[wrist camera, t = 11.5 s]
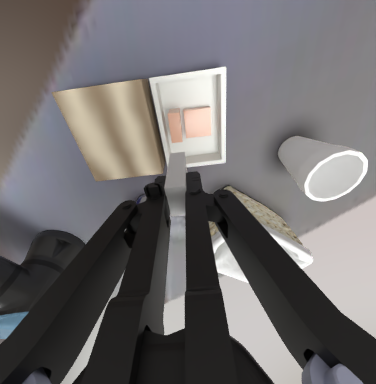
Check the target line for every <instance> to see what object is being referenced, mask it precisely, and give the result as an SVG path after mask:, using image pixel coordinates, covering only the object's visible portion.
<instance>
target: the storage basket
mask: <svg viewBox="0 0 376 384" xmlns="http://www.w3.org/2000/svg"><path fill="white" fill-rule="evenodd" d="M224 189H227V190H230V191H231V192H232V193H233V194H234V195H235V196H236V197H237V198H238V199H239V200H240V201H241V203H242V204H243V205H244V206H245V207H246V208H247V209H248V210H249V211H250V213H251V214H252V215H253V216H254V217H255V218H256V219H257V220H258V221H259V222H260V224H261V225H262V226H263V227H264V228H265V229H266V230H267V231H268V232H269V234H270V235H271V236H272V237H273V238H274V239H275V240H276V241H277V242H278V243H279V245H280V246H281V247H282V248H283V249H284V250H285V251H286V252H287V253H288V255H289V256H290V257H291V258H292V259H293V260H294V261H295V262H296V263H297V264H298V266H299V267H300V268H301V269H303V268H304V267H306V266H308V265H310V264H311V263H312V262H313V257H312V255H311V252H310V250H309V249H307V248H306V247H304V246H303V245H302V243H301V242H300V240H299V239H298V238H297V236H296V235H295V233H294V232H292V230H291V228H290V227H289V226H287V224H286V222H285V221H284V220H283V219H282V218H281V217H280V216H278V215H277V214H276V213H274V212H273V211H271V210H269V209H268V208H267V207H266V206H264V205H262V204H261V203H259V202H257V201H255V200H253V199H252V198H249V197H248V196H246V195H245V194H242V193H241V192H239V191H237V190H235V189H233V188H232V187H231V186H227V187H225V188H224ZM208 222H209V227H210V233H211V239H212V245H213V250H214V256H215V262H216V268H217V272H218V273H221V274H224V275H227V276H230V277H233V278H235V279H238V280H241V281H244V282H246V283H249V282H248V280H247V279H246V277H245V275H244V273H243V272H242V270H241V268H240V266H239V265H238V263H237V261H236V260H235V258H234V256H233V254H232V253H231V251H230V249H229V247H228V246H227V244H226V242H225V240H224V239H223V237H222V235H221V233H220V232H219V230H218V228H217V227H216V225H215V222H210V221H208Z"/></svg>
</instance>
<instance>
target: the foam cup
mask: <svg viewBox="0 0 376 384" xmlns="http://www.w3.org/2000/svg"><path fill="white" fill-rule="evenodd" d="M278 156H279V159H280V161H281V162H282V164H283V165H284V166H285V168H286V169H287V170H288V172H289V173H290V175H291V176H292V177H293V179H294V180H295V181H296V183H297V184H298V187H299V188H300V189H301V190H302V191H303V192H304V193H305V194H306V195H307V196H308V197H309V198H311V199H312V200H316V201H328V200H333V199H336V198H338V197H340V196H342V195H344V194H346V193H348V192H350V191H351V190H352V189H353V188H354V187H356V186H357V185H358V184H359V183H360V182H361V180H362V179H363V177H364V175H365V174H366V172H367V166H368V160H367V159H366V157H365V156H364V155H363V153H361V152H359V151H357V150H354V149H352V148H350V147H345V146H340V145H333V144H329V143H325V142H321V141H317V140H313V139H309V138H305V137H300V136H294V137H290V138H289V139H287V140H286V141H284V142H283V144H282V145H281V146H280V148H279V151H278Z"/></svg>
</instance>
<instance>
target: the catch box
mask: <svg viewBox="0 0 376 384" xmlns="http://www.w3.org/2000/svg"><path fill="white" fill-rule="evenodd" d="M149 80H150V85H151V90H152V95H153V100H154V104H155V109H156V114H157V119H158V123H159V128H160V133H161V138H162V143H163V147H164V152H165V157H166V162H167V167H168V163H169V157H170V153H178V152H185V158H186V165H187V167H194V166H203V165H211V164H219V163H226V67H221V68H214V69H207V70H201V71H194V72H187V73H180V74H173V75H167V76H160V77H153V78H149ZM206 106H210V107H211V136H202V137H192V138H186V131H185V122H184V112H183V109H188V108H197V107H206ZM174 108H180V114H181V123H182V132H183V142H178V143H172V141H171V134H170V127H169V121H168V111H169V109H174Z"/></svg>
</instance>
